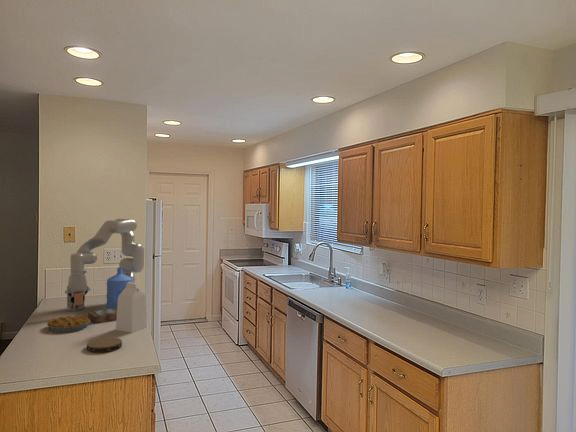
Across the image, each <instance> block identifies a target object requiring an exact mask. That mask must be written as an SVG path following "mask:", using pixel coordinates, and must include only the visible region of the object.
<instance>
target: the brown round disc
mask: <svg viewBox="0 0 576 432" xmlns="http://www.w3.org/2000/svg"><path fill="white" fill-rule="evenodd" d="M122 340H123V339H121V338H119V337H115V336H114V337H112V336H109V337H108V336H105V337H98V338H93V339H91V340H89V341H88V342H87V343H86V351H87V352H90V353H92V354H104V353H112V352H115V351H116V352H117V351H118V350H119V349H122V346H123V345H122V344H123V341H122Z"/></svg>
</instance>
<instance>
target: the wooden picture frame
mask: <svg viewBox="0 0 576 432" xmlns="http://www.w3.org/2000/svg"><path fill="white" fill-rule="evenodd" d="M87 317H88V318H89V319H90V322H92V323H94V324H99V323H105V322H106V323H107V322H114V321H116V319H117V309H115V308H112V309H106V308H105V309H99V310H98V309H97V310H92V311H87Z"/></svg>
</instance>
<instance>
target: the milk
mask: <svg viewBox="0 0 576 432" xmlns="http://www.w3.org/2000/svg"><path fill="white" fill-rule="evenodd" d="M146 299H147V298H146V294H145V293H144V292H143V291H142V290H141V289H140V288H139V286H138V283H136V282H135V283H130V282H129V283H127V285H126V288H125V289H124V290H123V291H122V292H121V294H120V295H119V297H118V304H117V319H116V320H115V330H116V331H121V332H125V333H130V334H132V333H136V332H138V331H141V330H144V329H146V328H148V324H147V301H146Z"/></svg>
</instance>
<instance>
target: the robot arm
mask: <svg viewBox="0 0 576 432" xmlns="http://www.w3.org/2000/svg"><path fill="white" fill-rule="evenodd" d="M137 227H138V223H137V221H136V220H134V219H131V218H117V219H115V220H111V219H110V220H105V222H103V223H102V225H101V226H100V228H99V230H98V231H97V232H96V234H94V236H93V237H92V238H90V239H88V240H87V241H85V242H84V243H82V244H81V246H80V247H79V248H78V250H77V251H76V253H72V254H71V255H70V256H69V257H70V261H69V262H70V275H69V276H68V282H67V286H68V288H67V287H66V289H65V290H64V294H66V295H67V294H68V295H69V296H70V297H71V302H72V303H73V304H74V292H83V302H84V303H85V301H86V299H85V298H86V297H85V296H86V295H87V294H88V292H89V291H91V288H90V286H88V284H87V283H88V282H87V277H86V274H87V273H88V271H87V270H85V265H93V264H95V263H96V262H97V260H98V255H97V254H96V253H95V252H92V251H93V250H95V249H96V248H99V247H102V246H105V245H106V244H107V243H108V241H109V240H110V238H112V236H113V235H114V234H120V236H121V254H122V255H123V256H125V257H124V258H122V259H120V261H119V266H118V268H122V274H123V275H126V276H128V277H130V278H132V283H136V275H135V273H137V274H138V273H141V272H142V271H143V269H144V267H145V248H144V246H143V245H142V244H141V243H136V240H135V232H134V231H136V230H137ZM68 291H70V292H71V294H70V293H69V292H68Z"/></svg>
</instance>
